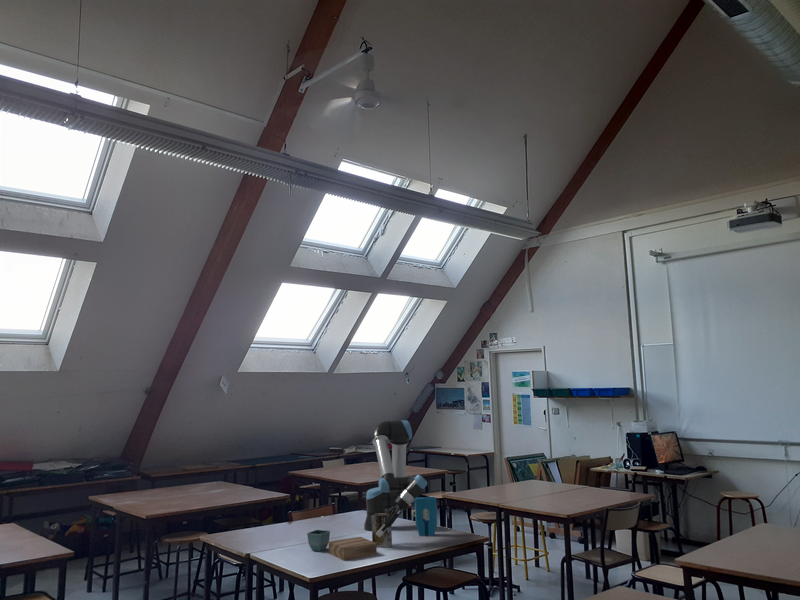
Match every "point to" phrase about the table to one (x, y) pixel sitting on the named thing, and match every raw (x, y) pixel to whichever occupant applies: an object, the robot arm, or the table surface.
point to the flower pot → (318, 539)
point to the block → (429, 525)
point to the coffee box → (377, 523)
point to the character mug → (423, 514)
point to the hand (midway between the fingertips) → (376, 533)
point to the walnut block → (352, 548)
